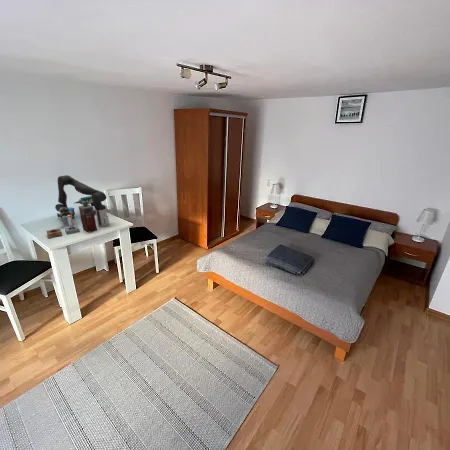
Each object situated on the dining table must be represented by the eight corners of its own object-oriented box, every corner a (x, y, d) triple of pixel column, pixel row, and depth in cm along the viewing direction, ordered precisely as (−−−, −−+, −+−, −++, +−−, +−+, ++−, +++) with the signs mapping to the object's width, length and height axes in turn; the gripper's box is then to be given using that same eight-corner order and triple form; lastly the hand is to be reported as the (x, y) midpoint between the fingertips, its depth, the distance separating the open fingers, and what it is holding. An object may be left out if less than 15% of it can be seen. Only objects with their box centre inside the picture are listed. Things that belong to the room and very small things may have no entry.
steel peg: (75, 230, 226) (71, 214, 220) (73, 232, 223) (69, 215, 217) (72, 230, 226) (68, 214, 220) (69, 232, 223) (65, 215, 217)
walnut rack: (60, 232, 222) (59, 228, 221) (62, 235, 215) (61, 231, 214) (47, 234, 216) (46, 230, 215) (48, 238, 209) (47, 234, 208)
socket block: (77, 228, 231) (76, 225, 230) (79, 231, 224) (79, 228, 223) (65, 231, 225) (64, 228, 224) (67, 234, 218) (66, 231, 217)
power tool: (77, 219, 254) (73, 201, 247) (74, 217, 258) (70, 199, 250) (107, 212, 278) (104, 195, 270) (103, 210, 282) (101, 194, 274)
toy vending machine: (88, 233, 221) (82, 203, 211) (83, 230, 228) (77, 201, 218) (98, 230, 228) (92, 201, 217) (93, 227, 234) (87, 199, 224)
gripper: (54, 209, 234) (57, 213, 222) (71, 206, 242) (75, 211, 231) (56, 216, 236) (59, 221, 225) (73, 213, 245) (76, 218, 234)
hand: (67, 216), depth 228 cm, fingers open, 8 cm apart
